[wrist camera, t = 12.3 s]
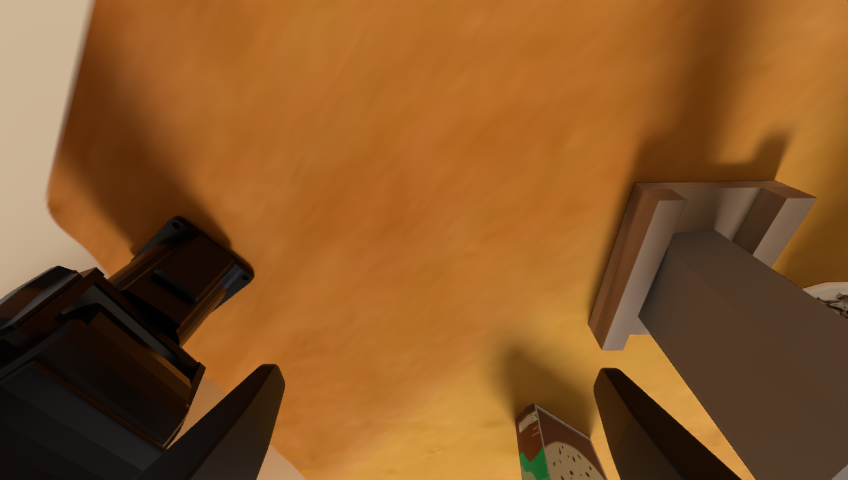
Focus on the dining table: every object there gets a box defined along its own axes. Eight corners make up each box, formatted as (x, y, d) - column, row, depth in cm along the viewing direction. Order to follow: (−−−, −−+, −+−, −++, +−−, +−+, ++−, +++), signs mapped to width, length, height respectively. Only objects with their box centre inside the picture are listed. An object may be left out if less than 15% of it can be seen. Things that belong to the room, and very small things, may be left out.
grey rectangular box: (633, 311, 23) (785, 520, 13) (653, 235, 20) (876, 438, 10) (688, 306, 23) (888, 519, 13) (716, 229, 20) (1020, 433, 9)
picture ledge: (588, 324, 26) (601, 350, 23) (634, 183, 19) (658, 200, 17) (692, 324, 25) (715, 350, 23) (774, 180, 19) (817, 197, 17)
